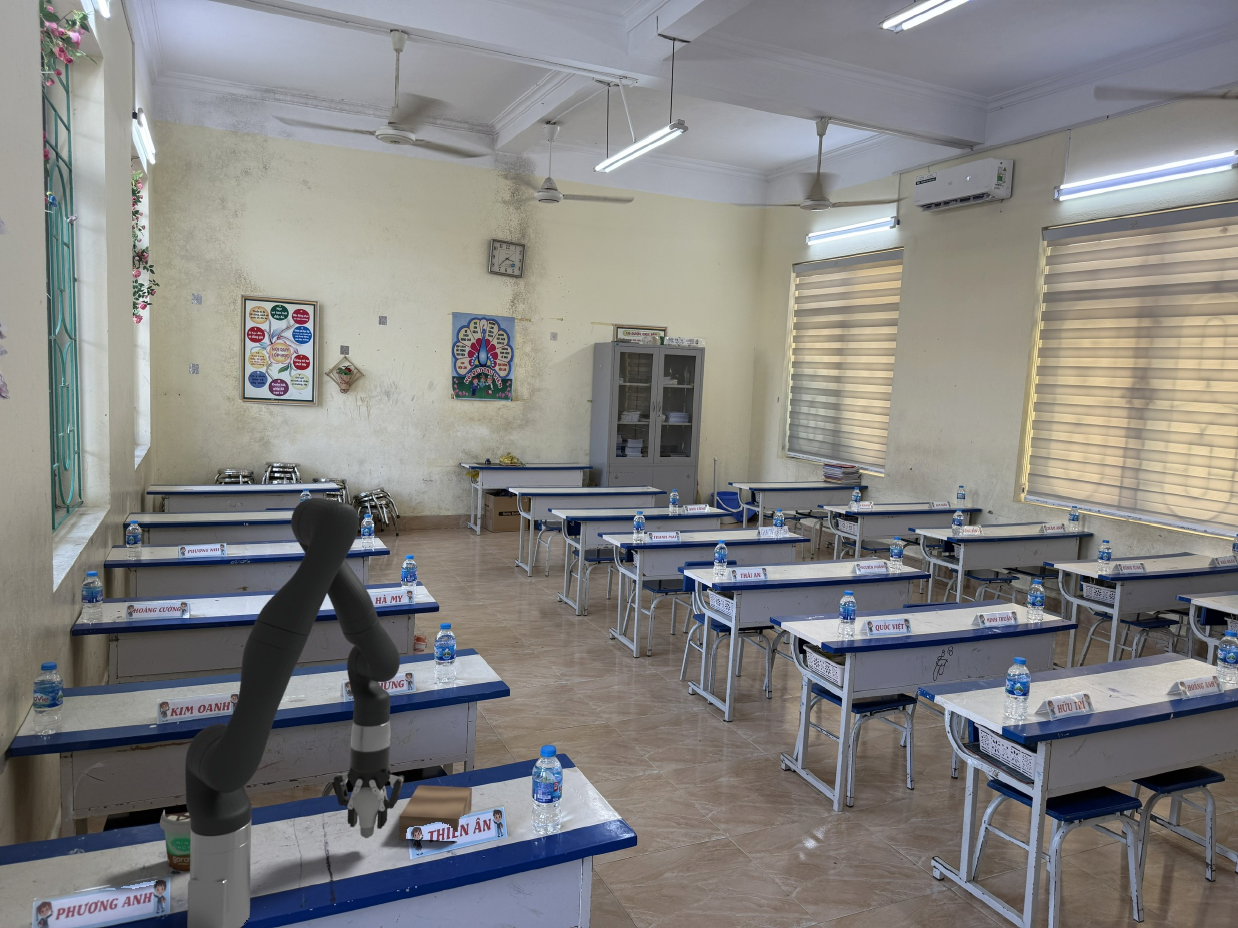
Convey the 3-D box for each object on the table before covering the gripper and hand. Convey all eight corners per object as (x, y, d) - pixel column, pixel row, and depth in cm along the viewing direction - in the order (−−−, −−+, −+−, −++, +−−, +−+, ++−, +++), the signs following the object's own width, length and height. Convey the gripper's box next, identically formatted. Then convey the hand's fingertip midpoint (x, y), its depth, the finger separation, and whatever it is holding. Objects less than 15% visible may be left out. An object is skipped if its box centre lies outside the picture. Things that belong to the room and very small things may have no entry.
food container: (150, 878, 146) (151, 825, 145) (160, 860, 152) (160, 809, 151) (223, 870, 149) (224, 819, 149) (230, 853, 155) (231, 803, 155)
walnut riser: (457, 842, 162) (457, 818, 162) (399, 839, 163) (399, 815, 163) (471, 809, 176) (471, 787, 176) (418, 806, 177) (418, 785, 176)
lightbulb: (351, 831, 160) (353, 778, 160) (382, 828, 162) (384, 775, 162) (350, 846, 155) (352, 791, 154) (382, 843, 157) (385, 788, 156)
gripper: (327, 747, 154) (324, 833, 155) (400, 751, 154) (397, 837, 155) (342, 733, 162) (338, 815, 162) (411, 737, 161) (407, 819, 162)
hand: (367, 825), depth 158 cm, fingers closed on lightbulb, 5 cm apart
